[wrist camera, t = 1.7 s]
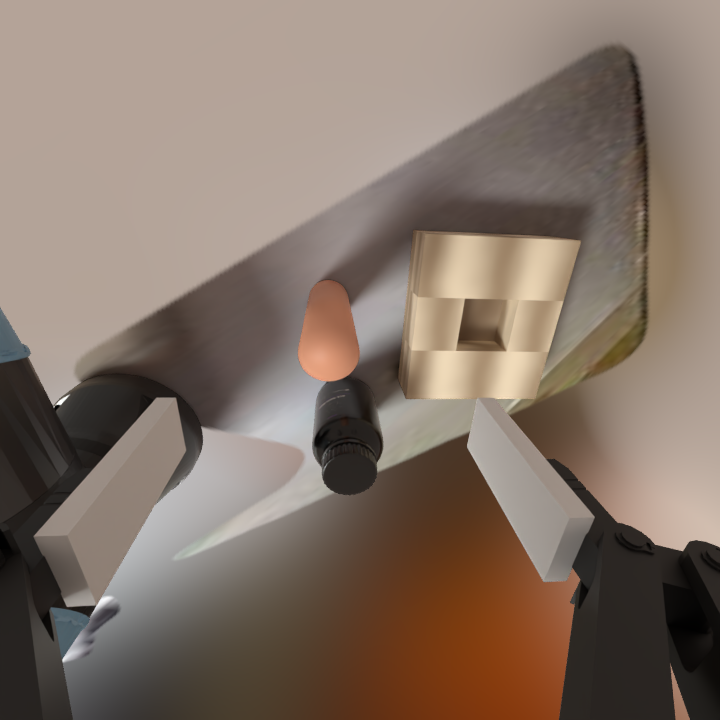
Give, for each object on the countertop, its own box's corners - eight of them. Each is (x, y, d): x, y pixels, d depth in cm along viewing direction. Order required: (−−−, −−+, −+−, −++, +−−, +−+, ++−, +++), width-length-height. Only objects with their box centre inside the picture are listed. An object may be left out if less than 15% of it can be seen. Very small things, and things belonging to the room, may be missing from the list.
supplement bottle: (330, 366, 38) (331, 430, 27) (384, 388, 40) (405, 457, 29) (306, 414, 41) (298, 491, 30) (358, 433, 42) (368, 512, 31)
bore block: (397, 378, 40) (406, 399, 36) (413, 230, 33) (425, 233, 29) (514, 379, 41) (535, 398, 37) (551, 236, 35) (581, 240, 30)
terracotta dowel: (309, 318, 36) (298, 381, 23) (308, 279, 34) (297, 324, 22) (347, 319, 36) (358, 381, 24) (349, 280, 35) (361, 325, 22)
